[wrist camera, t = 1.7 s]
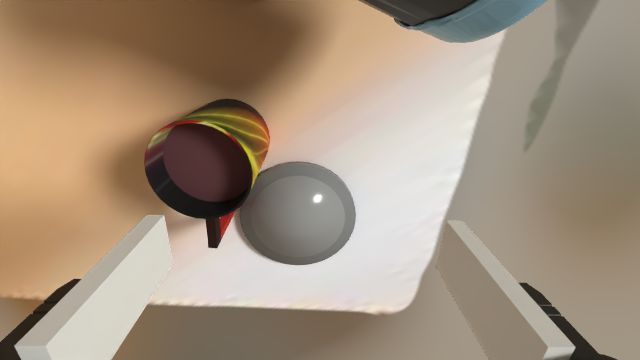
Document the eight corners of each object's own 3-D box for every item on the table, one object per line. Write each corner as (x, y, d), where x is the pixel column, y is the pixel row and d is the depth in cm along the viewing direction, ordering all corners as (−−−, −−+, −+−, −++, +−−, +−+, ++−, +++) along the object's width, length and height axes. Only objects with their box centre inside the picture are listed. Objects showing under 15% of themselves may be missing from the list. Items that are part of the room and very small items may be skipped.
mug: (232, 208, 42) (204, 263, 31) (178, 117, 37) (121, 145, 26) (295, 183, 41) (289, 232, 30) (248, 86, 36) (219, 102, 25)
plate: (239, 158, 39) (237, 161, 38) (360, 164, 40) (362, 168, 39) (243, 257, 46) (242, 263, 44) (348, 261, 46) (349, 267, 45)
